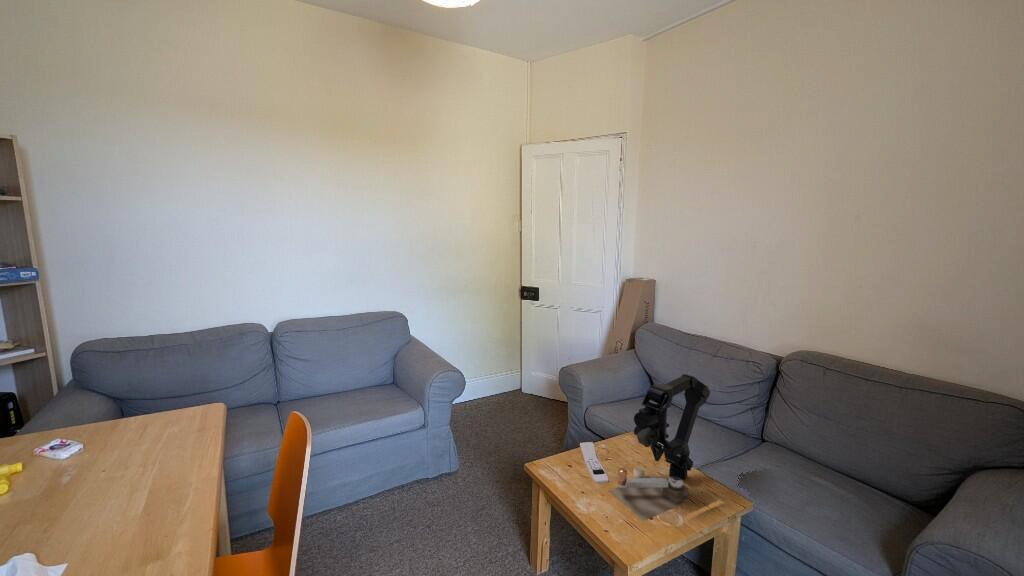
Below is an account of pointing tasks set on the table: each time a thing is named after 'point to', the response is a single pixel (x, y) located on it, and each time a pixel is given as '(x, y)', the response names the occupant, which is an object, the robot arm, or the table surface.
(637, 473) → the beige ridged cylinder
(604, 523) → the table surface
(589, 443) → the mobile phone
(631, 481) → the lever
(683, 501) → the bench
